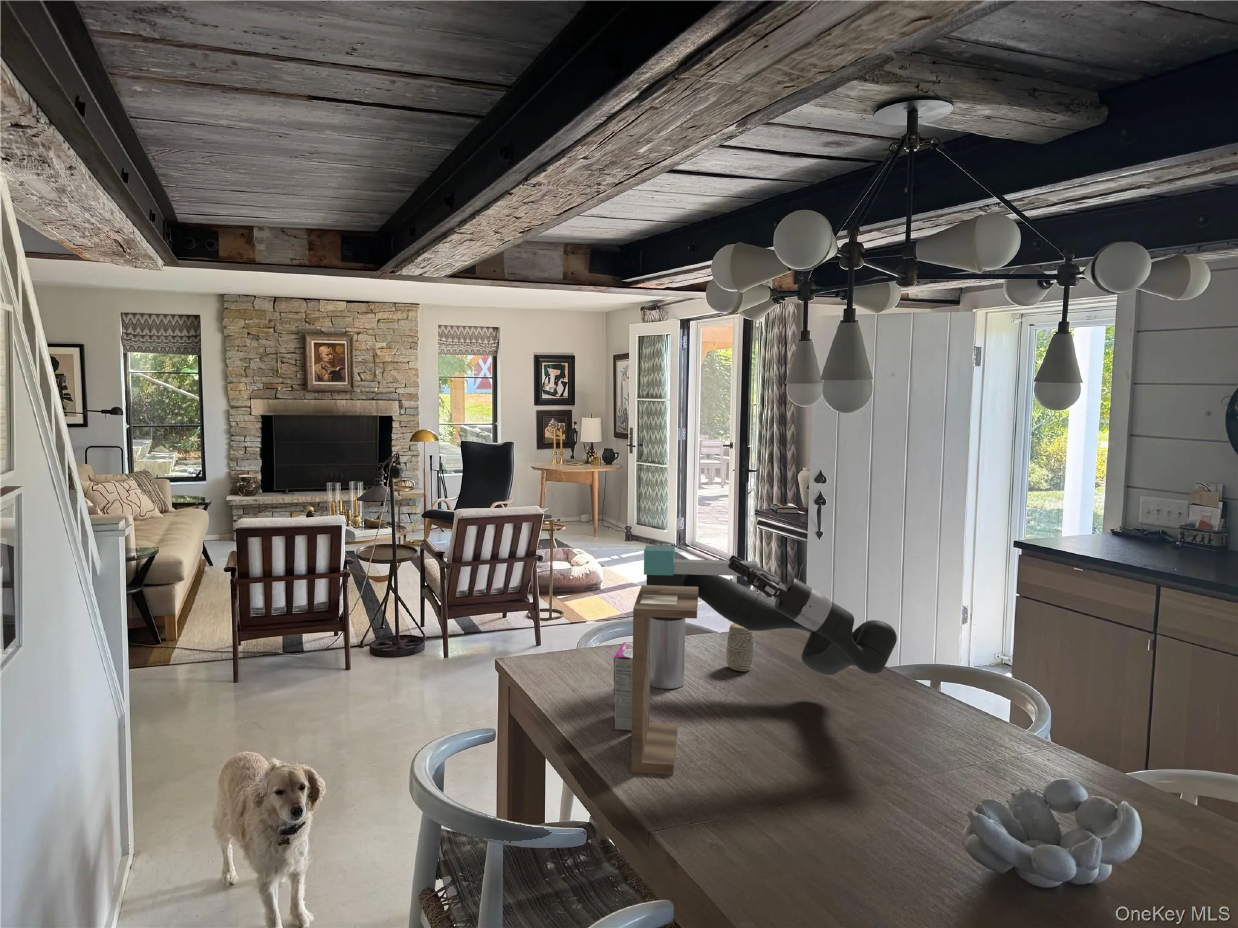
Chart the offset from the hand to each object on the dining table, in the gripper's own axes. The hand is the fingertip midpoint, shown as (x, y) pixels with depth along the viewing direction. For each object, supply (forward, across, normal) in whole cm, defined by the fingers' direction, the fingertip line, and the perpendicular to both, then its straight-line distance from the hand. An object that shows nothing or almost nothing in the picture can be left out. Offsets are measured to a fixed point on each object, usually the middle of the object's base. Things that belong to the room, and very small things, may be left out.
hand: (730, 560), depth 170 cm
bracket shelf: (-8, +6, +40) cm, 41 cm away
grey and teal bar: (+4, 0, +5) cm, 7 cm away
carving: (-23, -49, +31) cm, 63 cm away
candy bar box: (-1, -9, +44) cm, 45 cm away
